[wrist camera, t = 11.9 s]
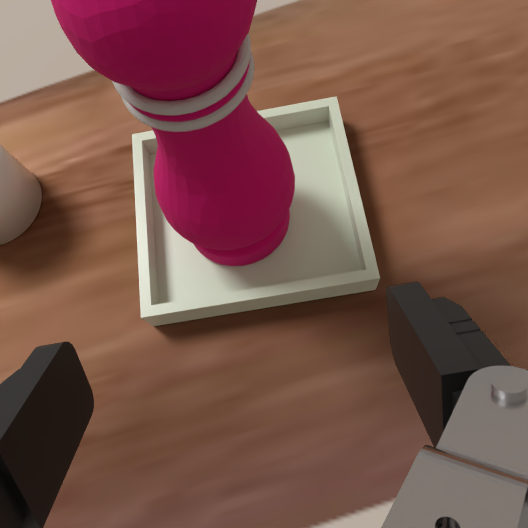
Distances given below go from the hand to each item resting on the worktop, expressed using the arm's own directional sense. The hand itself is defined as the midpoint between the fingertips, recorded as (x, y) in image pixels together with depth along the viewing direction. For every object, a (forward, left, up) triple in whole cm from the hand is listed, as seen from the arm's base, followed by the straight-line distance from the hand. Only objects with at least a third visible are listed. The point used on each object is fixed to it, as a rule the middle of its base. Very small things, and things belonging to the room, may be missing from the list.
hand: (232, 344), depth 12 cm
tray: (0, +11, -15) cm, 18 cm away
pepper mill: (-1, +11, -14) cm, 18 cm away
